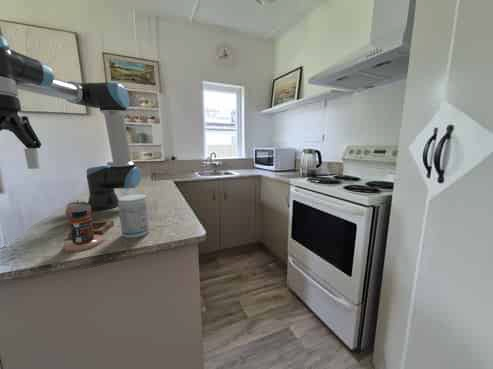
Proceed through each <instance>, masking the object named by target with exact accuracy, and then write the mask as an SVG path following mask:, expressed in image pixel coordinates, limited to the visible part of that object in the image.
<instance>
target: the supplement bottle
mask: <svg viewBox="0 0 493 369" xmlns="http://www.w3.org/2000/svg"><path fill="white" fill-rule="evenodd" d="M72 215H73V216H72V217H71V218H70V217H69V220H68V222H69V228H70V232H71V235H72V238H71V240H72V241H73V243H74V244H78V245H79V244H85V243H88V242H90V241H92V240H93V239H94V232H93V230H94V228H93V226H92V222H93V221H92V216H91V214H90V215H88V214H87V210H86V209H77V210H73V211H72Z"/></svg>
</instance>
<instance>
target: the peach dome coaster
mask: <svg viewBox="0 0 493 369" xmlns="http://www.w3.org/2000/svg"><path fill="white" fill-rule="evenodd" d="M104 241H105V240H104V236H103V235H94V239H93V240H92V241H90V242H88V243H85V244H79V245H78V244H74V243H73V241H72V239H71V240H68V241H67V242H65V243H64V245H63V249H64V251H65V252H69V253H70V252H71V253H73V252H83V251H86V250H88V249H89V250H90V249H92V248H95V247H97V246H100V245H101V244H102V243H103V242H104Z"/></svg>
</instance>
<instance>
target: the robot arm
mask: <svg viewBox="0 0 493 369" xmlns="http://www.w3.org/2000/svg"><path fill="white" fill-rule="evenodd" d="M18 90H22V91H24V92H26V91H27V92H30V93H34V94H39V95H44V96H48V97H52V98H58V99H62V100H65V101H67V102H68V103H70V104H74V105H79V106H84V107H87V108H88V107H89V108H93V109H99V112H100V113H102V115H104V121H105V125H106V131H107V137H108V142H109V148H110V153H111V158H112V163H111V164H108V165H107V164H106V165H100V166H93V167H87V169H86V180H87V186H88V191H89V192H88V193H89V197H88V200H87V201H88V202H87V203H88V204H89V205H90V206H91V211H105V210H110V209H114V208H116V207H119V206H118V199H119V197H118V196H117V194H116V191H115V190H116V189H126V190H129V189H135V188H136V187H138V186H139V184H140V183H141V180H142V174H141V172H142V171H141V170H140V168H139V167H137V166H136V165H135V162H133V161H132V156H131V151H130V145H129V139H128V138H129V137H128V133H127V127H126V120H125V114H126V113H127V109H128V108H129V107H130V104H131V98H130V95H129V92H128V91H127V89H126V88H125V87H124V86H123V85H122V84H121V83H118V82H113V81H112V82H111V81H109V82H107V81H106V82H75V81H71V80H70V81H69V80H68V81H65V80H62V79H58V78H55V75H54V71H53V70H52V68H51V66H49V65H48V64H46V63H44V62H41V61H40V60H38V59H35V58H32V57H30V56H27V55H25V54H22V53H19V52H17V51H15V50H13V49H10V45H9V44H8V40H7V39H6V38H5V37H4V36H2V35H1V34H0V132H1V131H3V130H6V131H9V132H12V133H13V135H14V136H16V138H17V139H18V140H19V141H20V142H21V144H23V146H25V148H24V149H23V151H24V155H25V160H26V164H27V165H26V166H27V169H29V170H30V169H31V170H32V169H35V170H36V169H40V163H39V158H38V156H39V155H38V151H37V149H40V148H41V146H42V143H41V141H40V139H39V138H38V136H37V134H36V132H35V131H34V129H33V127H32V125H31V122H30V119H29V117H28V116H26V115H19V113H18V112H20V111H22V107H21V102H20V98H18V96H19V92H18Z"/></svg>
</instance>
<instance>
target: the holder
mask: <svg viewBox="0 0 493 369" xmlns="http://www.w3.org/2000/svg"><path fill="white" fill-rule="evenodd" d="M114 223H115V222H114V220H104V221H92V226H93V232H94V235H102V236H103V235H104V234H105V233H107V232H108V231H109V230H110V229H112V227H113V226H115V224H114ZM94 228H98V229H94ZM67 234H68V239H72V235H71V231H69V232H67Z"/></svg>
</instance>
